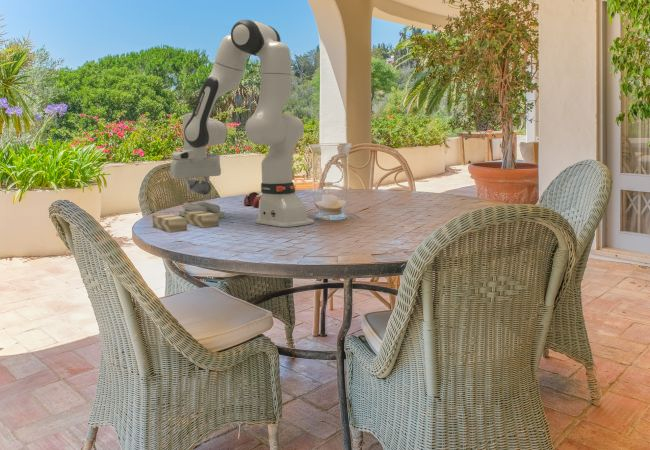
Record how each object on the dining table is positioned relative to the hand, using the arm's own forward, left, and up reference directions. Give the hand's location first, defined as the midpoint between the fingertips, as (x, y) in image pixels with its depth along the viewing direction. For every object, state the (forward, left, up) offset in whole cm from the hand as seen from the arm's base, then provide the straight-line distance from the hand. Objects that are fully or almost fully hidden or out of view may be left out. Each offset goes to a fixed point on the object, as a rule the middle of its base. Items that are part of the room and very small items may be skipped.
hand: (197, 188), depth 225 cm
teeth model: (+8, -32, -11) cm, 34 cm away
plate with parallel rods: (-3, 0, -11) cm, 11 cm away
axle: (-1, 0, -2) cm, 2 cm away
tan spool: (-20, +14, -11) cm, 26 cm away
